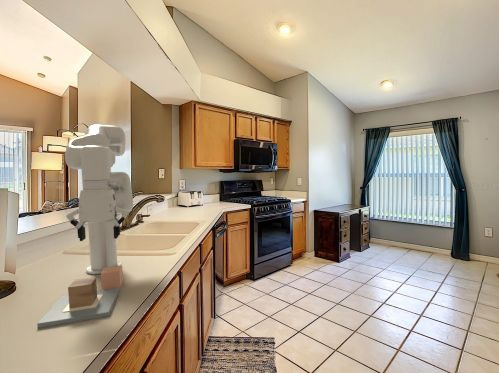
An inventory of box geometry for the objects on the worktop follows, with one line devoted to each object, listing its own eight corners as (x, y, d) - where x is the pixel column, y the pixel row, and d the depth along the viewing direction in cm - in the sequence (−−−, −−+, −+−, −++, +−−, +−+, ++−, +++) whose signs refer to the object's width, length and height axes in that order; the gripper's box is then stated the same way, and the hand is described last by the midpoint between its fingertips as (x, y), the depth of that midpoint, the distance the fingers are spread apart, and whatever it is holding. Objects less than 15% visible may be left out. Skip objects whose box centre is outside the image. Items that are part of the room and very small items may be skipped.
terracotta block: (105, 284, 91) (104, 267, 90) (123, 282, 92) (122, 265, 92) (101, 291, 85) (100, 273, 85) (120, 288, 87) (119, 270, 87)
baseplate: (62, 299, 80) (62, 294, 80) (119, 290, 85) (119, 286, 85) (37, 328, 65) (37, 322, 65) (108, 316, 70) (108, 311, 69)
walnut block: (76, 299, 77) (74, 279, 76) (97, 296, 78) (96, 276, 78) (69, 308, 71) (67, 287, 71) (92, 305, 73) (90, 284, 73)
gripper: (128, 184, 87) (131, 233, 89) (69, 185, 83) (73, 237, 85) (124, 185, 80) (126, 239, 82) (59, 187, 76) (63, 244, 77)
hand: (99, 238), depth 83 cm, fingers open, 9 cm apart
